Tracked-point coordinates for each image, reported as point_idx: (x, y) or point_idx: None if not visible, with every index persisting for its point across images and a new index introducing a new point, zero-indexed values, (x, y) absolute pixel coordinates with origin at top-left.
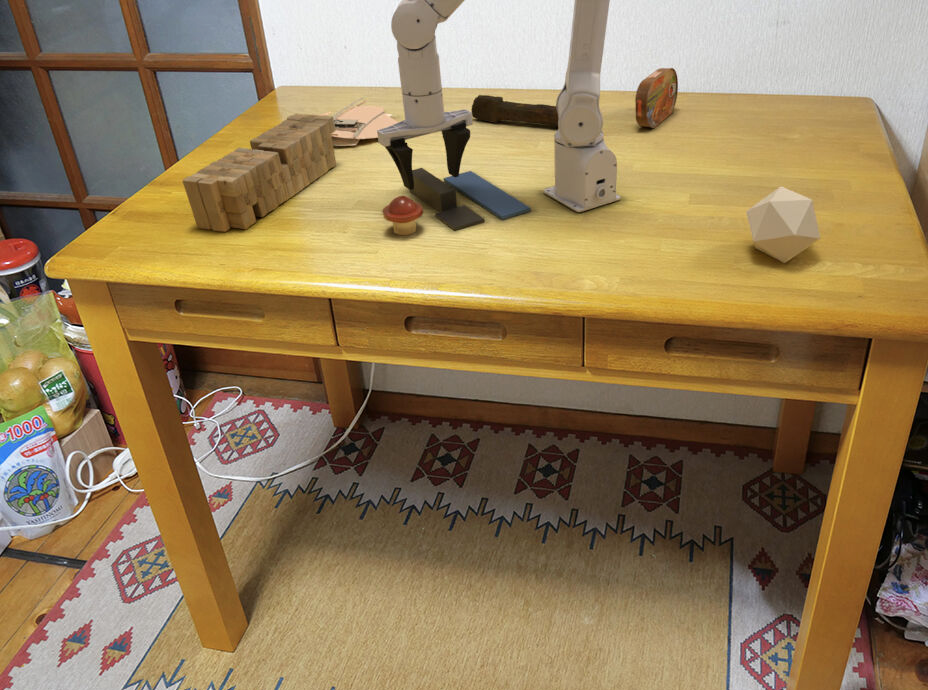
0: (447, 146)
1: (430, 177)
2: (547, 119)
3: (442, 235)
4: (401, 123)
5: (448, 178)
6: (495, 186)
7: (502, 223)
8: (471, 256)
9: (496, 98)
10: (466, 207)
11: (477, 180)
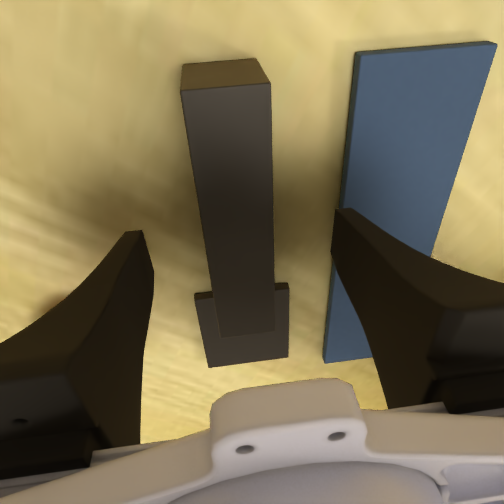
0: (385, 290)
1: (251, 217)
2: None
3: (175, 366)
4: (104, 500)
5: (374, 73)
6: (437, 229)
7: (313, 364)
8: (196, 428)
9: None
10: (286, 302)
11: (436, 159)
